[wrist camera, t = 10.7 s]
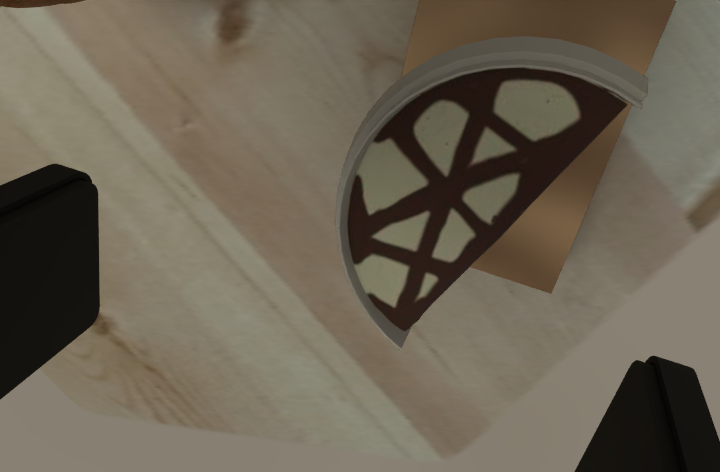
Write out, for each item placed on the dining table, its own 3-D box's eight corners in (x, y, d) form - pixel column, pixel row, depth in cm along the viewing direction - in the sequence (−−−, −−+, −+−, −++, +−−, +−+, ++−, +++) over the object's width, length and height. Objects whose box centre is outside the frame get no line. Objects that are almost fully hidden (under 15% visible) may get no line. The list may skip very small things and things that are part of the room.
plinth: (450, -54, 30) (433, -58, 25) (656, -5, 28) (676, 0, 24) (386, 199, 36) (363, 232, 32) (551, 252, 34) (551, 293, 30)
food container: (505, -47, 25) (479, -55, 16) (621, 47, 25) (659, 91, 16) (343, 172, 31) (259, 254, 22) (437, 247, 31) (391, 358, 22)
